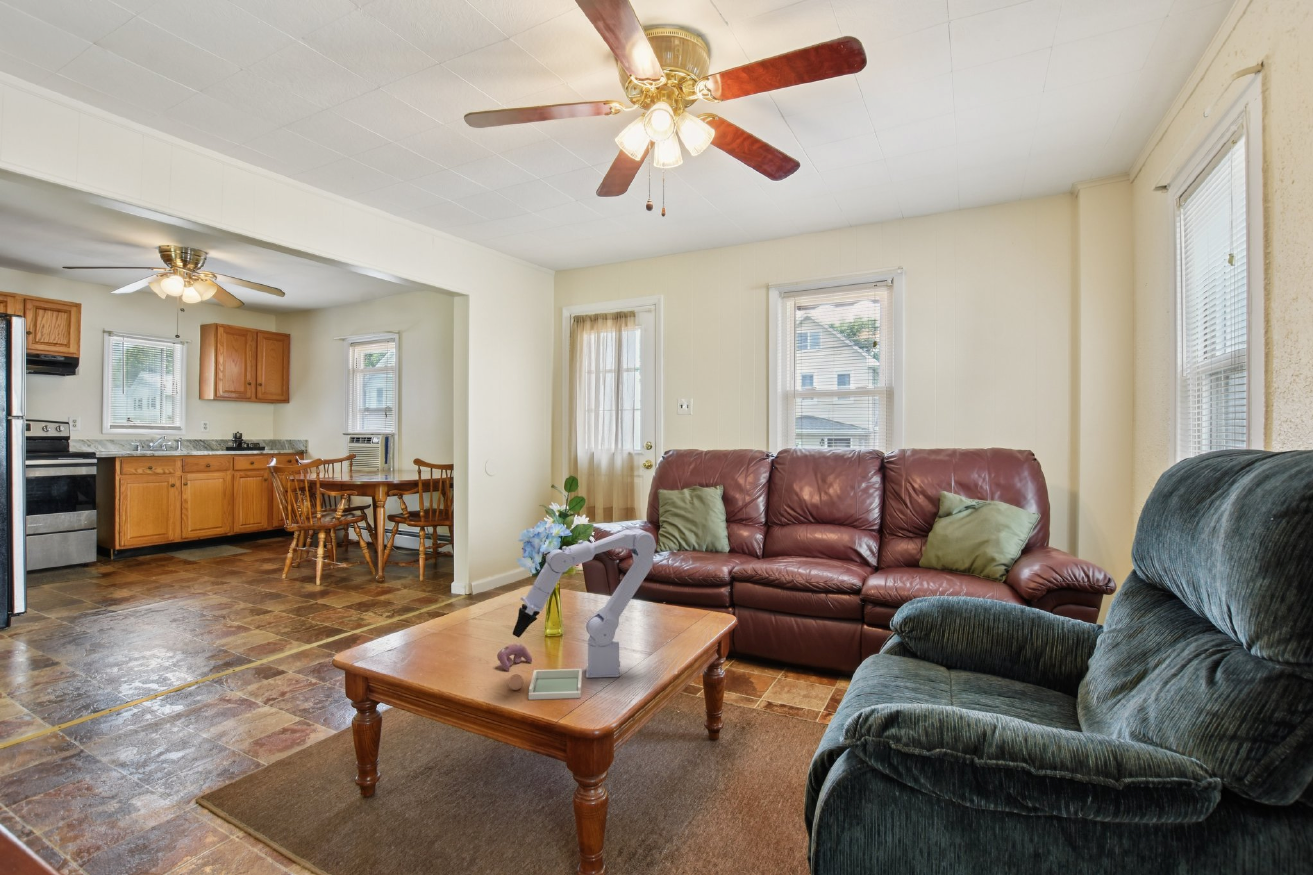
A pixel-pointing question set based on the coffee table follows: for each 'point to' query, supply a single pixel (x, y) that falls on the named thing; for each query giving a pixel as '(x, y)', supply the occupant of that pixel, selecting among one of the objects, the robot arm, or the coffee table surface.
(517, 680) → the ball
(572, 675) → the tray
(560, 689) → the mat
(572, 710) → the coffee table surface
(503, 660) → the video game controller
